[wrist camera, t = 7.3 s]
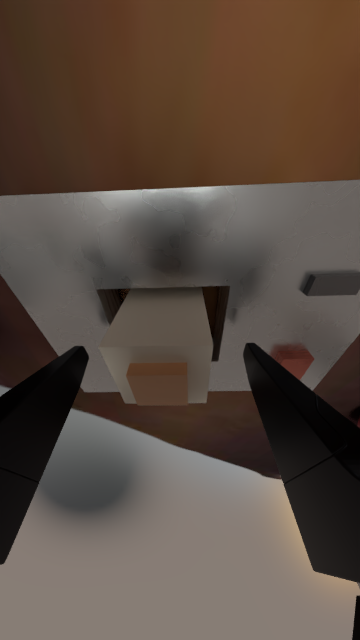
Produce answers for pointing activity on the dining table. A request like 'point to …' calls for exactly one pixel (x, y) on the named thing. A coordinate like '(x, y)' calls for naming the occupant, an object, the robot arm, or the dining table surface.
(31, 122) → the dining table surface
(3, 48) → the dining table surface
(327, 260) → the switch plate
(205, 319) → the plug
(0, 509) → the robot arm
